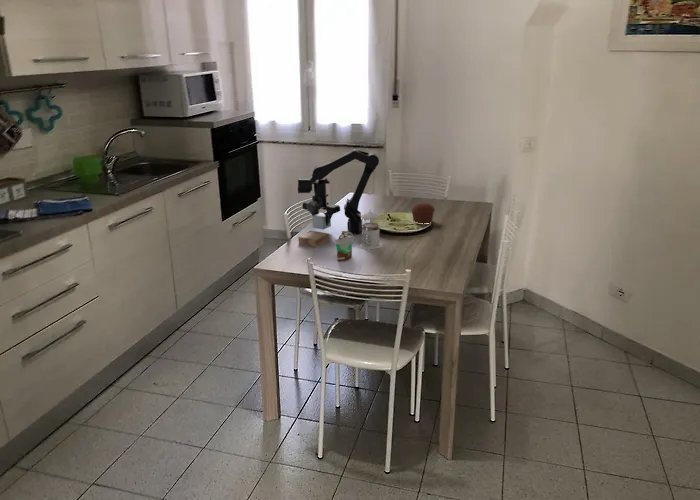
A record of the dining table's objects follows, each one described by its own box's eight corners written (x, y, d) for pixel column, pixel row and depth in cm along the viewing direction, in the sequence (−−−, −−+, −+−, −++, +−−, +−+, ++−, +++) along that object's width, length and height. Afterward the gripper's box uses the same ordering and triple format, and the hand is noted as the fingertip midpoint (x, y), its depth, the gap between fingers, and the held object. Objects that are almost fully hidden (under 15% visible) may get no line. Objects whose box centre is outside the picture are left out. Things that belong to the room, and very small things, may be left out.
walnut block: (329, 241, 267) (328, 233, 266) (317, 248, 259) (316, 239, 258) (311, 238, 272) (310, 230, 271) (298, 245, 264) (298, 236, 263)
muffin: (408, 224, 286) (408, 205, 283) (414, 218, 296) (414, 199, 292) (431, 226, 282) (432, 206, 278) (437, 220, 291) (437, 200, 288)
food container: (351, 263, 240) (350, 240, 237) (336, 262, 241) (335, 239, 238) (356, 252, 251) (356, 230, 248) (343, 252, 253) (342, 230, 249)
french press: (366, 250, 253) (365, 195, 244) (354, 243, 263) (352, 189, 254) (386, 246, 257) (385, 191, 249) (373, 239, 267) (372, 186, 258)
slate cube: (330, 226, 278) (330, 214, 276) (323, 229, 273) (322, 217, 271) (320, 224, 281) (320, 212, 279) (313, 227, 276) (312, 215, 274)
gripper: (293, 194, 270) (296, 226, 275) (325, 199, 260) (327, 232, 265) (308, 188, 279) (310, 219, 284) (340, 193, 268) (341, 225, 274)
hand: (322, 224), depth 277 cm, fingers closed on slate cube, 6 cm apart
